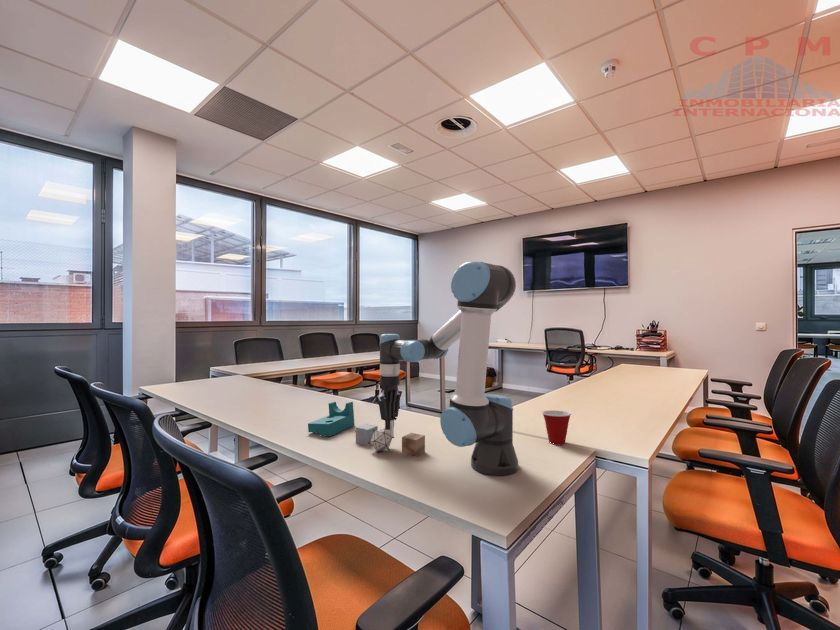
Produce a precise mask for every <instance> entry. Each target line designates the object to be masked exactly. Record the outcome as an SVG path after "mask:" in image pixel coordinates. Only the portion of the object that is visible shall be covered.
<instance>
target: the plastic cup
mask: <svg viewBox="0 0 840 630" xmlns="http://www.w3.org/2000/svg"><path fill="white" fill-rule="evenodd" d="M541 414H542V416H543V419H544V421H545V422H544V424H545V428H546V433H547V434H546V435H547V438H548V442H549V443H550V442H551V443H554V444H564V443H565V444H566V438H567V434H568V429H569V422H570V420H571V419H570V417H571V415H572V413H571V412H570V411H565V410H556V409H555V410H543V411H541ZM551 443H550V444H551ZM554 444H553V445H554ZM565 444H564V445H565Z"/></svg>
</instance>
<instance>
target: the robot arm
mask: <svg viewBox="0 0 840 630" xmlns="http://www.w3.org/2000/svg"><path fill="white" fill-rule="evenodd" d="M516 283H517V282H516V278H515V275H514V274H513V273H512V271H511V270H509V268H507V267H505V266H502V265H498V264H493V263H487V262H483V261H473V260H472V261H466V262H464V263H462V264H460V265H459V267H458V268H456V270H455V271H454V273H453V275H452V277H451V281H450V290H451V293H452V295H453V297H454V298H455V299H456V300H457V304H456V306H457V308H458V309H459V310H458V311H457V313H455V314H454V315H453V316H451V317H450V319H449V320H448V321H446V322H445V324H443V325H442V326H441V327H440V328H439V329H438V330H437V331H435V333H433V334H432V335H431V336H430V337H429V338H427V339H426V338H425V339H423V338H422V339H401V337H400V334H398V333H383V334H381V335H380V336H379V345H378V346H379V375H380V376H379V385H380V386H381V390H380V394H378V395H376V400H377V402H378V408H379V414H380V415H379V416H380V420H381V421H384V428H385V427H386V430H387V432H388V433H389V434H390V435H391V436H392V437H394V438H395V436H394V435H395V434H394V433H395V421H396V420H398V419H397V417H399V411H400V402H401V397H402V394H403V391H402V390H399V387H398V386H399V385H400V382H401V378H400V374H401V373H400V372H401V368H400V366H401V365H400V364H401V362H400V361H402V362H408V363H418V362H420V361H422V360H423V361H424V360H437V359H440V358H444V357H445V356H447V354H448V352H449V348H450V347H451V346H452V345H453V344H455V343H456V342H457V341H459V346H458V356H457V372H456V382H455V383H456V384H455V391H454V393H452V394H451V395H450V396H449V406H448V407H446V408H445V409H444V410H443V411H442V412H441V415H440V419H439V420H440V428H441V431H442V434H443V435H444V436H445V438H446V439H447V441H448V442H449V443H450V444H452V445H453V446H456V447H457V448H464V447H470V446H473V445H474V448H473V450H472V454H471V456H470V466H471V468H472V469H473V470H475V471H477V472H478V473H481V474H484V475H488V476H497V477H498V476H499V477H501V476H508V475H509V476H510V475H513V474H515V473H517V471H519V460H518V459H519V458H518V457H517V453H516V449H515V447H514V442H513V439H514V437H513V435H514V432H513V428H514V427H513V426H514V425H513V424H514V423H513V420H514V417H513V415H514V412H513V411H514V408H513V400H512V398H510V397H508V396H505V395H501V394H492V393H485V392H486V380H487V369H488V358H489V356H488V355H489V345H490V335H491V334H490V333H491V332H490V331H491V324H492V323H491V320H492V315H493V314H495V313H496V312H498V311H500V310H501V308H502V307H504V306H505V305H507V303H508V302H509V301H510V300H511V299H512V298H513V296H514V295H515V292H516V288H517V287H516V286H517V284H516Z"/></svg>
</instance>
